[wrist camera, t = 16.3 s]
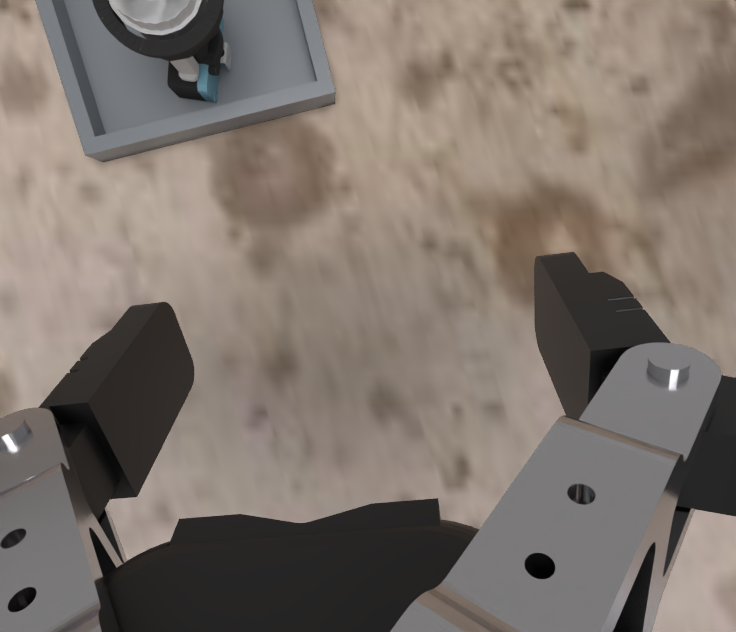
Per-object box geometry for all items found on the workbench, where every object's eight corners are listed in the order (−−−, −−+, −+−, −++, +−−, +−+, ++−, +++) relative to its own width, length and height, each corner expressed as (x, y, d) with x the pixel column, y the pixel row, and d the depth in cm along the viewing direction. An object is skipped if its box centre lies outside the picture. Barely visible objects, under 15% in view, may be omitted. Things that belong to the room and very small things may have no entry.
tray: (280, -112, 31) (275, -143, 29) (334, 103, 33) (335, 92, 31) (35, -54, 31) (9, -80, 28) (103, 161, 33) (85, 155, 30)
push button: (163, -23, 31) (85, -148, 21) (259, -7, 31) (227, -122, 22) (153, 100, 32) (74, 36, 22) (247, 114, 32) (211, 56, 22)
